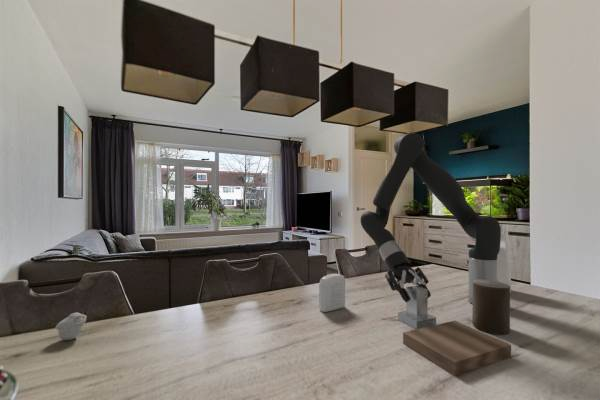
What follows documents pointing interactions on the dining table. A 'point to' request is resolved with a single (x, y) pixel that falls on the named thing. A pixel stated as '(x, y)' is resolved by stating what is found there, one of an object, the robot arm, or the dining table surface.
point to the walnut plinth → (456, 346)
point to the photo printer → (331, 292)
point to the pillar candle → (491, 306)
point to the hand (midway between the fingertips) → (418, 299)
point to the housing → (417, 309)
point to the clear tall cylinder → (503, 263)
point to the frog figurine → (71, 326)
